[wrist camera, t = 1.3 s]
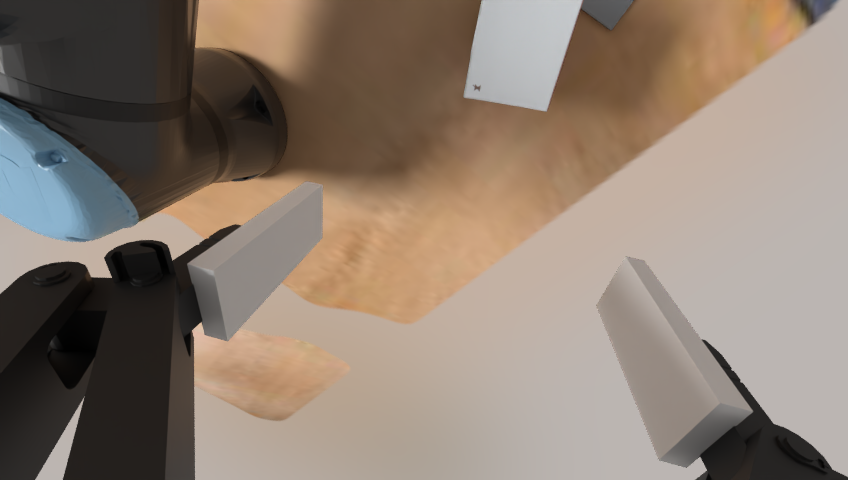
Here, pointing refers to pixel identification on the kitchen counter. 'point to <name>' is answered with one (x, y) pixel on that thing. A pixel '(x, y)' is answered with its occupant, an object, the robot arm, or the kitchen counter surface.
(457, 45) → the kitchen counter surface
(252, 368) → the kitchen counter surface
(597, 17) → the mat
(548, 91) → the small box
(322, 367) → the kitchen counter surface
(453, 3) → the kitchen counter surface
